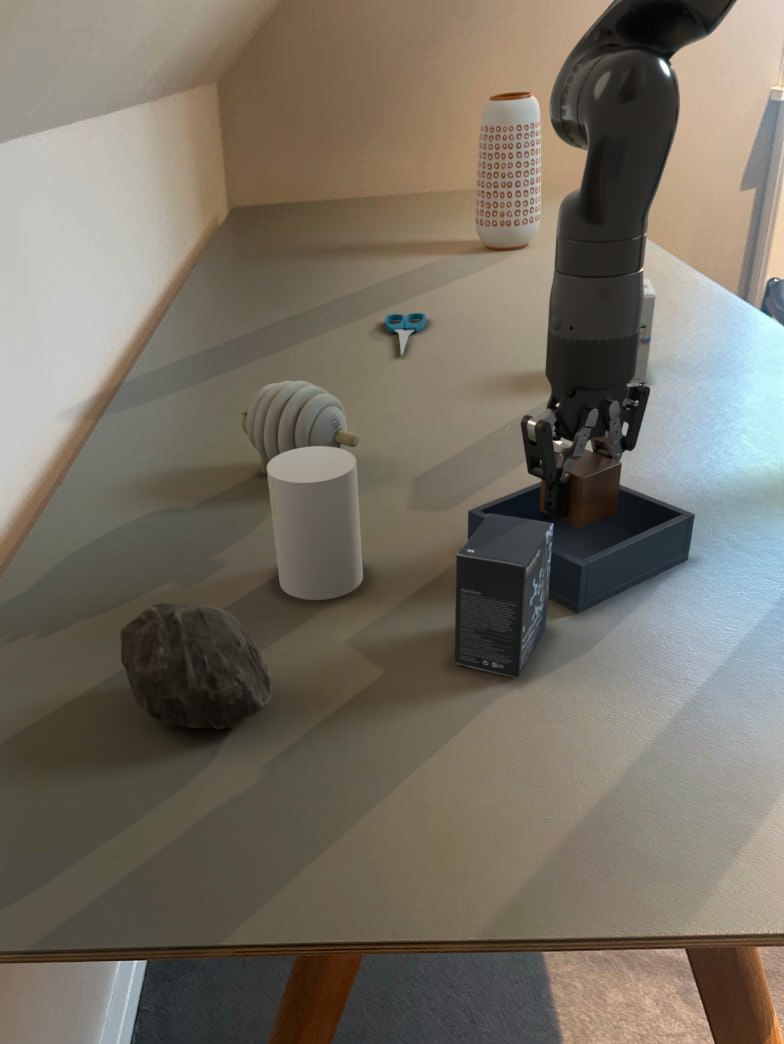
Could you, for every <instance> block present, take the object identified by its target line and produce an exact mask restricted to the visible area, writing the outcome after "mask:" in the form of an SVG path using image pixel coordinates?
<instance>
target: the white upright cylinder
mask: <svg viewBox="0 0 784 1044" xmlns="http://www.w3.org/2000/svg"><path fill="white" fill-rule="evenodd" d="M357 468H358V467H357V458H356V456H355V455H354V454H353V453H351V452H350V451H349V450H347V449H343V448H342V449H340V448H335V447H327V446H312V447H303V448H297V449H293V450H290V451H286V452H284V453H281V454H279V455H277V456H276V457H274V458H273V459H271V460H270V462H269V463H268V465H267V474H266V475H267V483H268V492H269V500H270V501H269V502H270V509H271V518H272V519H271V520H272V526H273V535H274V544H275V553H276V554H275V555H276V562H277V563H276V564H277V570H278V571H277V573H278V580H279V587H280V588H281V590H282V591H283V592H284V593H286V594H288V595H289V596H292V597H293V598H296V599H300V600H307V601H325V600H330V599H336V598H340V597H342V596H345V595H348V594H350V593H352V592H353V591H355V590H356V589H357V588H358V587H359V586H360V585H361V584H362V582H363V578H364V573H363V557H362V556H363V555H362V541H361V540H362V539H361V537H362V536H361V521H360V505H359V504H360V503H359V486H358V469H357Z"/></svg>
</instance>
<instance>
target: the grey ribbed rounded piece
mask: <svg viewBox="0 0 784 1044" xmlns="http://www.w3.org/2000/svg"><path fill="white" fill-rule="evenodd" d="M240 414H241V415H242V417H241V428H242V430H243V432H244V433H245V435H247V437H248V440H249V442H250V443H251V445H252V446H253V448H255V449H256V450H257V451H258V453H259V458H260V459H259V460H260V467H261V472H262V474H264V475H267V465H268V463H269V462H270V460H271V459H273V458H274V457H276V456H277V455H279V454H281V453H284V452H286V451H290V450H293V449H297V448H303V447H312V446H327V447H335V448H340V449H343V447H344V446H347V447H350V448H355V447H357V446H358V445H359V443H360V437H359V435H358V434H357V433H353V432H350V431H348V426H347V424H348V423H347V416H346V412H345V409H344V405H343V404H342V403H341V401H340V400H339V398H337V397H336V396H334V395H333V394H330V393H329V392H328V391H327V390H326V389H324V387H323V388H322V387H321V386H318V385H314V384H313V383H311V382H309V381H305V380H296V381H293V380H284V381H280V382H277V383H269V384H266V385H264V386H263V387H262V388H260V389H259V390H257V392H256V393H255V395H254V396H253V397H252V399H251V401H250V403H249V404H248V405H247V407H246V409H245V410H244V411H243V412H240Z"/></svg>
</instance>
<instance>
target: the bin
mask: <svg viewBox="0 0 784 1044" xmlns="http://www.w3.org/2000/svg"><path fill="white" fill-rule="evenodd" d="M540 495H541V481H539V482H536V483H534V484H531V485H529V486H526V487H523V488H521V489H519V490H516V491H514V492H511V493H509V494H506V495H503V496H501V497H499V498H496V499H494V500H491V501H487V502H486V503H484V504H481V505H479V506H476V507H474V508H471V509H469V510H467V541H468V540H469V539H470V538H471V536H472V535H473V534H474V533H475V532H476V530H477V529H478V528H479V526H480V525H481V524H482V522H483V521H484V520H485V518H486V517H487V515H488V514H490V513H493V514H499V515H505V516H511V517H517V518H524V519H530V520H536V521H542V522H548V523H553V537H552V549H551V564H550V577H549V592H548V599H550V600H552V601H554V602H556V603H557V604H560V605H562V606H563V607H565V608H567V609H568V610H571V611H573V612H574V613H576V614H579V613H581V612H584V611H585V610H587V609H590V608H592V607H594V606H595V605H598V604H600V603H602V602H604V601H606V600H608V599H610V598H612V597H614V596H616V595H619V594H620V593H622V592H625V591H626V590H630V589H631V588H633V587H635V586H637V585H639V584H641V583H643V582H645V581H648V580H649V579H651V578H654V577H655V576H658V575H660V574H661V573H664V572H666V571H668V570H670V569H672V568H674V567H676V566H678V565H680V564H682V563H684V562H687V561H688V560H689V556H690V550H691V545H692V537H693V529H694V523H695V518H696V514H695V513H693V512H691V511H688V510H686V509H683V508H680V507H678V506H675V505H674V504H670V503H668V502H666V501H663V500H661V499H657V498H655V497H652V496H650V495H647V494H645V493H642V492H640V491H637V490H635V489H632V488H630V487H627V486H625V485H622V484H620V485H619V495H618V504H617V512H616V513H614V514H611V515H609V516H607V517H604V518H602V519H600V520H597V521H595V522H593V523H590V524H588V525H586V526H583V527H581V528H576V527H574V526H572V525H570V524H568V523H565V522H563V521H561V520H559V519H557V518H554V517H552V516H550V515H548V514H546V513H543V512H541V511H540Z"/></svg>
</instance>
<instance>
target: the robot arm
mask: <svg viewBox="0 0 784 1044" xmlns="http://www.w3.org/2000/svg"><path fill="white" fill-rule="evenodd" d="M737 2H738V0H613V1H612V2H611V3H610V4H609V5H608V6H607V7H606V9H605V10H604V11H603V13H601V15H600V16H599V17H598V18H597V19H596V20H595V21H594V22H593V24H591V26H590V27H589V28H588V29H587V30H586V32H585V33H584V34H583V36H581V38H580V39H579V40H578V41H577V43H576V44H575V45H574V47H573V48H572V49H571V51H570V52H569V54H568V55H567V57H566V58H565V60H564V62H563V63H562V66H561V67H560V69H559V71H558V73H557V75H556V78H555V80H554V83H553V86H552V88H551V89H552V90H551V93H550V99H549V106H548V107H549V108H548V111H549V118H550V123H551V126H552V128H553V131H554V132H555V134H556V135H557V137H558V138H559V139H560V140H561V141H562V142H564V143H565V144H567V145H569V146H570V147H573V148H576V149H579V150H583V151H586V159H585V163H584V168H583V173H582V177H581V182H580V187H579V188H577V189H574V190H572V191H571V192H569V193H568V194H567V195H565V196H564V198H563V200H562V201H561V203H560V205H559V209H558V216H557V224H556V235H555V250H554V251H555V252H554V265H553V266H554V270H553V277H552V283H551V287H550V293H549V303H548V318H547V333H546V334H547V335H546V352H545V354H546V355H545V372H544V373H545V377H546V378H547V380H548V383H549V385H550V388H551V391H550V396H549V398H548V401H547V403H546V409H545V410H543V411H542V412H541V413H539V414H538V415H536V416H532V415H530V414H526V415H524V416H523V417H522V418H521V420H520V429H521V436H522V443H523V449H524V455H525V463H526V469H527V473H528V474H529V475H531V476H533V477H535V478H538V479H540V480H541V479H543V480H545V496H544V508H545V510H546V511H547V513H548V514H549V515H551V516H554V517H556V518H558V519H563V518H565V517H567V516H568V513H569V500H570V487H571V481H569V480H570V478H571V475H572V472H573V469H574V466H575V463H576V460H577V459H579V458H581V457H582V456H583V453H584V450H585V449H586V446H587V444H588V442H589V441H590V444H591V449H592V450H591V451H592V452H594V453H597V454H600V455H602V456H605V457H608V458H610V459H613V460H616V461H619V462H621V459H622V457H623V454H624V453H625V452H627V451H628V452H632V451H633V450H634V449H635V448H636V446H637V443H638V439H639V434H640V431H641V428H642V424H643V420H644V417H645V416H644V415H645V412H646V409H647V406H648V401H649V398H650V395H651V394H650V393H651V388H650V386H647V385H644V384H643V383H635V382H631V380H632V379H633V377H634V376H635V372H636V363H637V354H638V344H639V335H640V326H641V317H642V307H643V297H644V284H643V279H644V266H645V257H646V246H647V238H648V229H649V216H650V211H651V208H652V205H653V202H654V200H655V197H656V194H657V191H658V190H659V187H660V184H661V181H662V177H663V174H664V171H665V168H666V165H667V162H668V159H669V156H670V153H671V150H672V146H673V144H674V141H675V136H676V133H677V129H678V124H679V118H680V112H681V93H680V84H679V79H678V75H677V72H676V69H675V68H674V65H673V64H672V62H671V61H670V60H671V59H672V58H673V57H674V55H676V54H677V53H678V52H679V51H680V50H681V49H683V48H685V47H688V46H689V45H691V44H694V43H697V42H700V41H701V40H704V39H706V38H707V37H709V36H710V35H711V34H713V33H714V32H715V30H717V29H718V28H719V26H720V25H721V24H722V22H723V21H724V20H725V19H726V18H727V16H728V14H729V13H730V12H731V11H732V9H733V7H734V6H735V4H736V3H737ZM625 423H626V424H627V426H628V427H627V430H626V434H624V433H623V427H624V424H625ZM562 439H564V440H566V441H569V442H571V443H572V444H571V445H568V444H566V443H563V441H562ZM560 455H563V456H564V458H563V462H562V465H561V467H559V466H556V465H557V462H558V459H559V456H560Z"/></svg>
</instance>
